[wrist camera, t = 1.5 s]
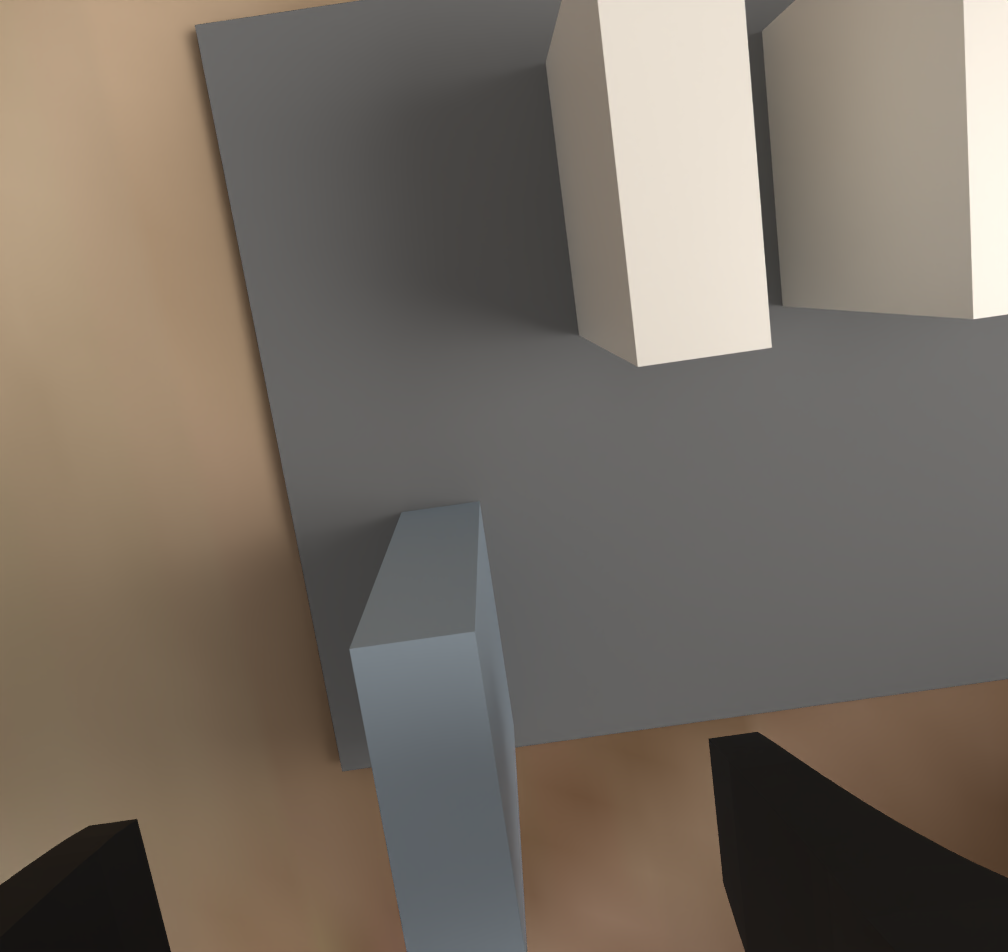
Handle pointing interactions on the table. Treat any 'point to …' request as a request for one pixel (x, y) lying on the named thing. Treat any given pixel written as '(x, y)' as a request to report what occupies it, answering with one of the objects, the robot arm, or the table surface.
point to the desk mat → (587, 400)
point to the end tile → (443, 735)
